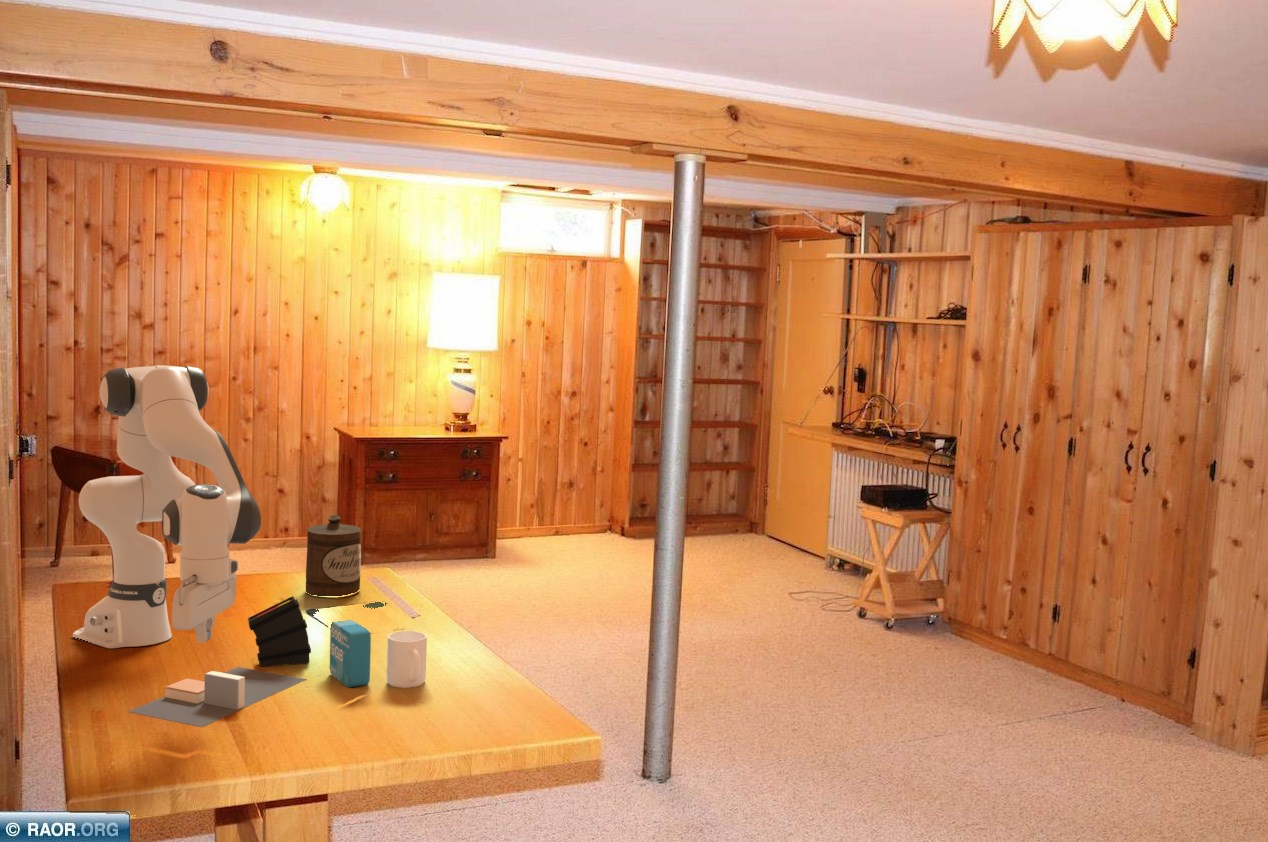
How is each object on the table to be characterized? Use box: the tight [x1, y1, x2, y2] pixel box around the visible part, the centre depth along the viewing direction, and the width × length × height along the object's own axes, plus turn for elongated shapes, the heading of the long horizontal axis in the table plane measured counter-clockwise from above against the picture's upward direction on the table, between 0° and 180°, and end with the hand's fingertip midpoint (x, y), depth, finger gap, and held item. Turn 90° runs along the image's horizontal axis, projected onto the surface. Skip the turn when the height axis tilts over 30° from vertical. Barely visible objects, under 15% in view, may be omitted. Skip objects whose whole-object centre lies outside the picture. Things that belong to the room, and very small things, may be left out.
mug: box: [386, 630, 428, 689], centre depth 246 cm, size 12×8×10 cm
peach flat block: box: [165, 678, 205, 704], centre depth 232 cm, size 8×2×6 cm
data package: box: [329, 620, 372, 688], centre depth 248 cm, size 12×4×12 cm, turn 36°
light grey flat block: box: [204, 670, 245, 710], centre depth 228 cm, size 8×2×6 cm, turn 69°
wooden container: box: [305, 514, 362, 596], centre depth 322 cm, size 15×15×22 cm
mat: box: [127, 666, 307, 728], centre depth 234 cm, size 18×32×1 cm, turn 159°
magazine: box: [247, 595, 312, 667], centre depth 257 cm, size 4×13×15 cm, turn 111°
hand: (204, 640), depth 221 cm, fingers closed
